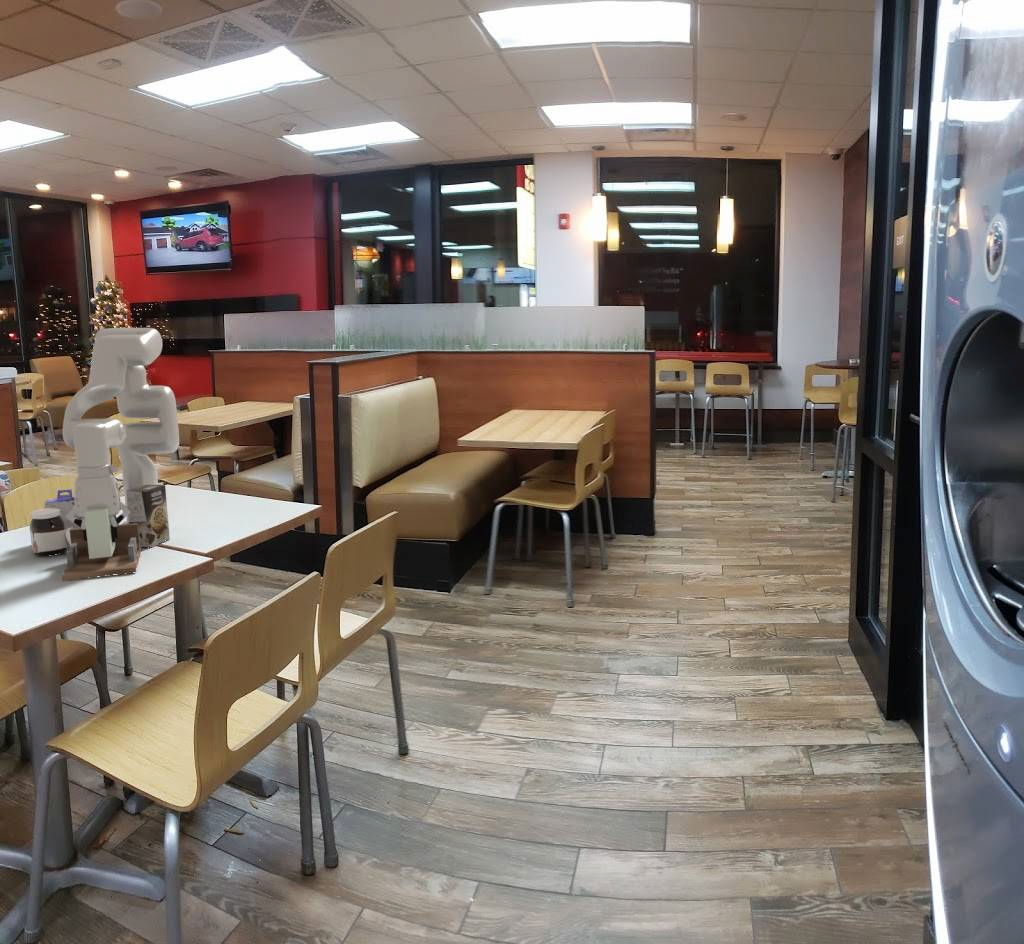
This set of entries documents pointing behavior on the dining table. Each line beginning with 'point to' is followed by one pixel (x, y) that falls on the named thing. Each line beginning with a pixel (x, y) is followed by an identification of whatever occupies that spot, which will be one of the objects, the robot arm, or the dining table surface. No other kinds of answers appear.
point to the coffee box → (149, 513)
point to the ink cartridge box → (63, 507)
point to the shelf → (119, 563)
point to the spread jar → (48, 532)
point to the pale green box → (99, 533)
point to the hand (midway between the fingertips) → (101, 541)
